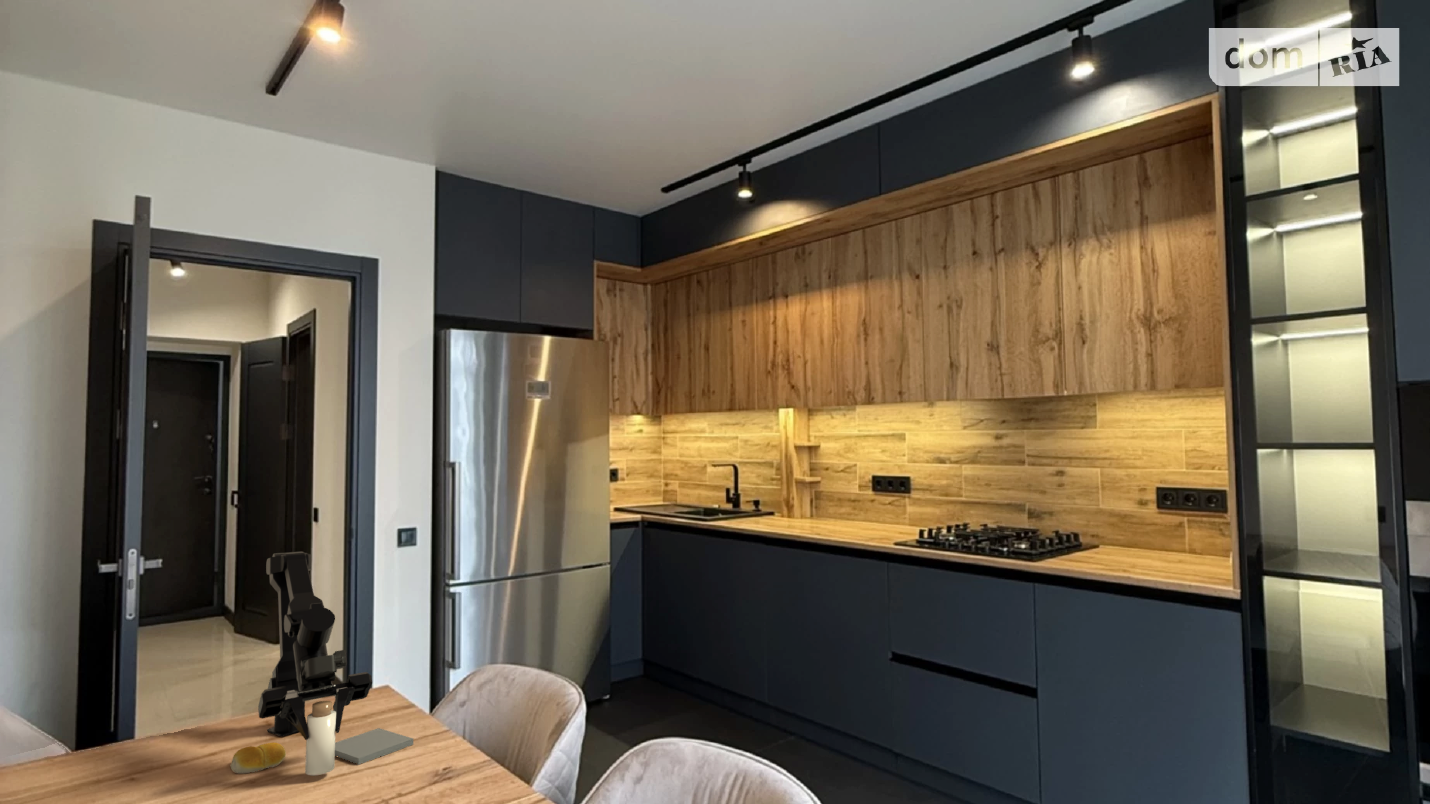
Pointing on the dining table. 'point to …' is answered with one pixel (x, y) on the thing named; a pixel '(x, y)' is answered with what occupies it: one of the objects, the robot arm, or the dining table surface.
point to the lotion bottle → (320, 739)
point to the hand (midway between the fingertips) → (322, 735)
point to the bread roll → (257, 757)
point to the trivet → (371, 745)
